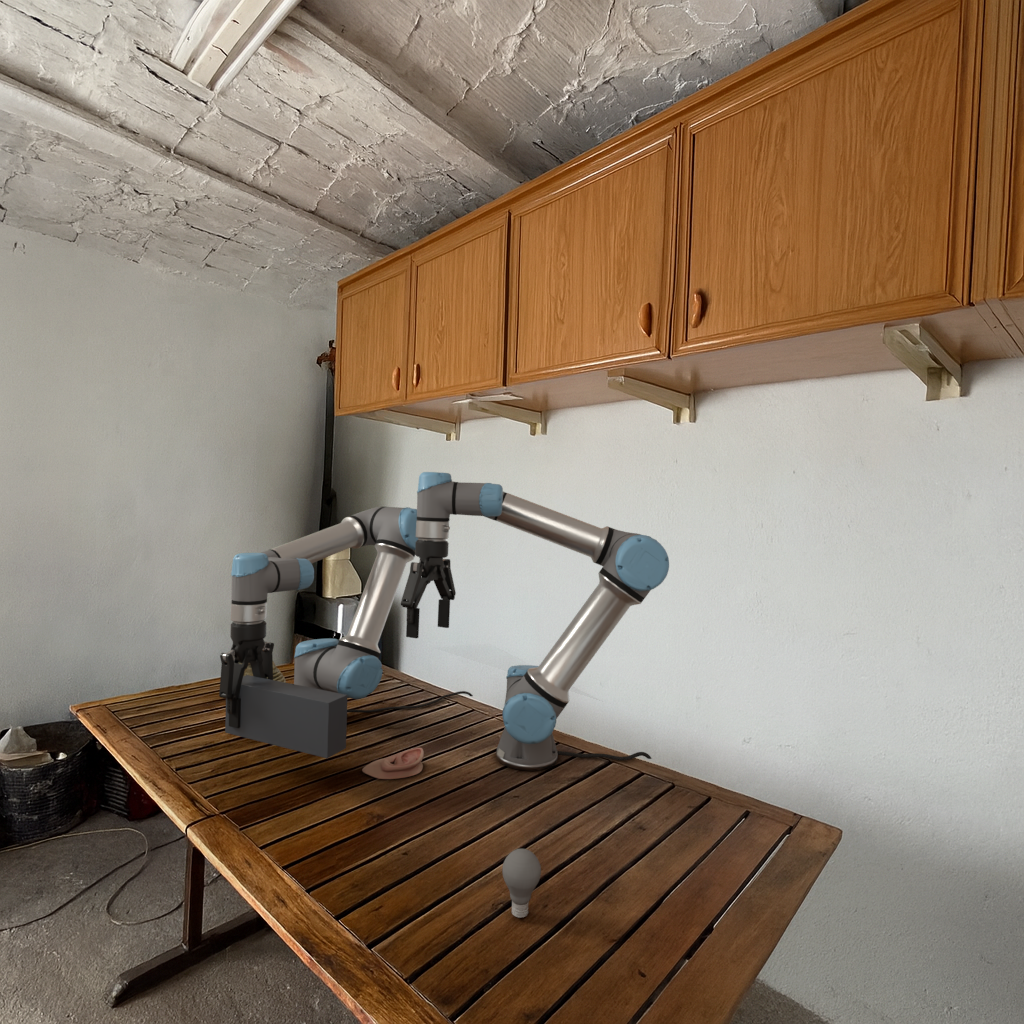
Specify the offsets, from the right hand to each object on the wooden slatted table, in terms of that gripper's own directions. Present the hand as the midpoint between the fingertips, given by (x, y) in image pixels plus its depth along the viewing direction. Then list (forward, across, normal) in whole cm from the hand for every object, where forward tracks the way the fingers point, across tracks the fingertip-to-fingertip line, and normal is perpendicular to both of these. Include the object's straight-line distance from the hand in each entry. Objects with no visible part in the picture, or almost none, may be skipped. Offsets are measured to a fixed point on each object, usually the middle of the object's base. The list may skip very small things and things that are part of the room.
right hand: (428, 632), depth 145 cm
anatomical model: (+33, -1, +8) cm, 34 cm away
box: (+24, -17, +25) cm, 39 cm away
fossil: (+33, +24, +76) cm, 86 cm away
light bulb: (+33, -35, -39) cm, 62 cm away
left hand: (+22, -17, +37) cm, 46 cm away
